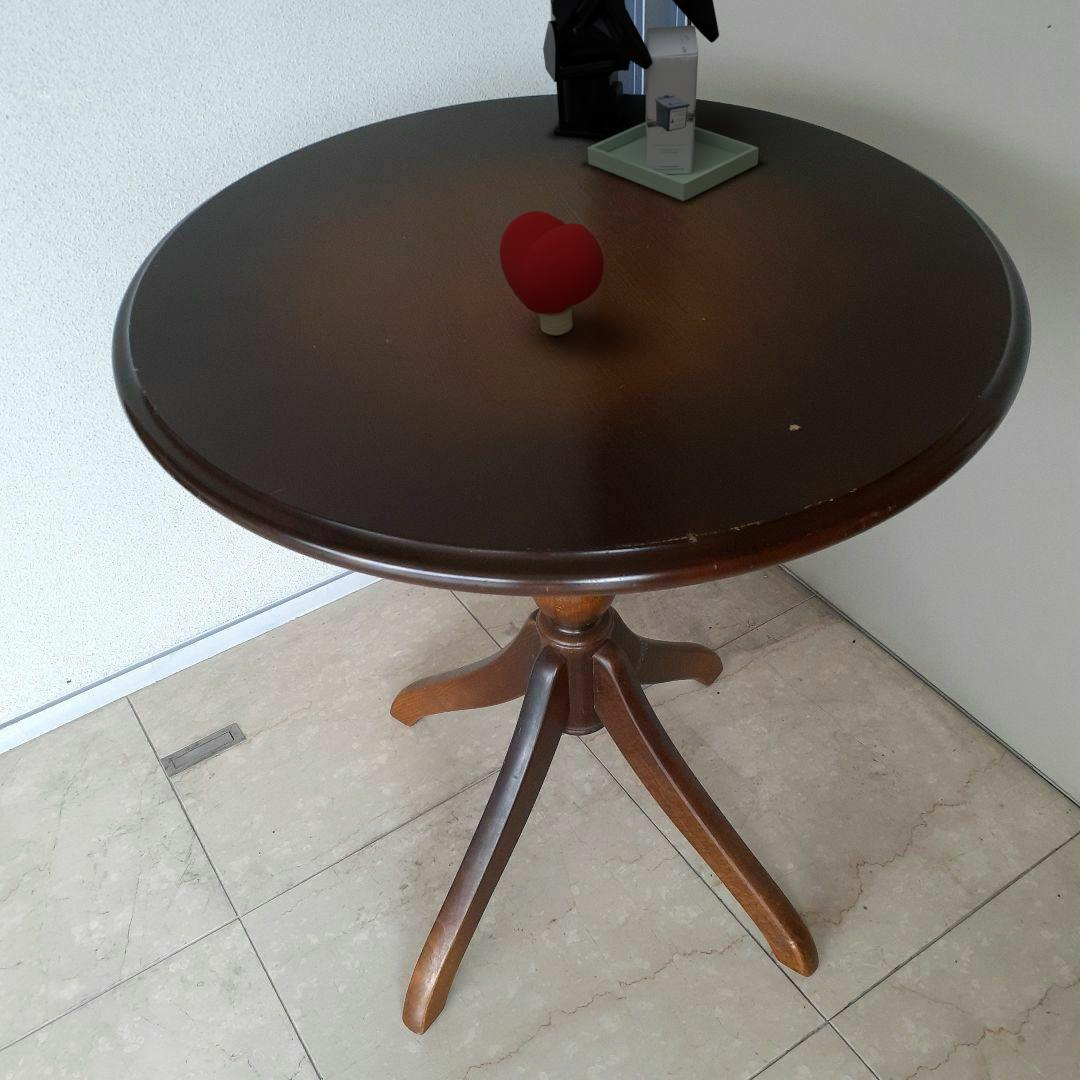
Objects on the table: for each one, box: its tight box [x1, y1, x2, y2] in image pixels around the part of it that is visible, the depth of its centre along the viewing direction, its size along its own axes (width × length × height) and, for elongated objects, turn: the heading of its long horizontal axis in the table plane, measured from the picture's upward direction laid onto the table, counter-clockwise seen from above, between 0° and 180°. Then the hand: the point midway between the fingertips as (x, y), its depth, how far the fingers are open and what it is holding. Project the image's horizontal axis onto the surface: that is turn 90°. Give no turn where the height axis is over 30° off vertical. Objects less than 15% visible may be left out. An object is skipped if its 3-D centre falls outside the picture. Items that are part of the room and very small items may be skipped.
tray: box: [587, 121, 760, 202], centre depth 107 cm, size 14×11×2 cm
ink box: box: [645, 24, 699, 174], centre depth 104 cm, size 9×5×12 cm, turn 176°
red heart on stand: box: [499, 210, 605, 338], centre depth 82 cm, size 9×7×10 cm
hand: (683, 52), depth 99 cm, fingers open, 9 cm apart
